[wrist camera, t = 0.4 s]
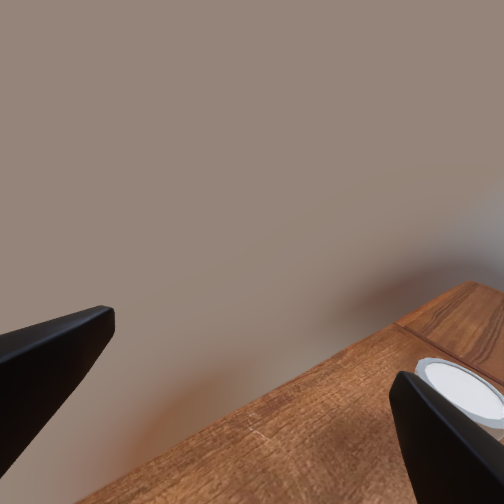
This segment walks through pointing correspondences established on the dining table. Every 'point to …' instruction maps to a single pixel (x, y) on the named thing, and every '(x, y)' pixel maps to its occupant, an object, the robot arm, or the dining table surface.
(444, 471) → the robot arm
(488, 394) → the faceted white cup
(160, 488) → the dining table surface
